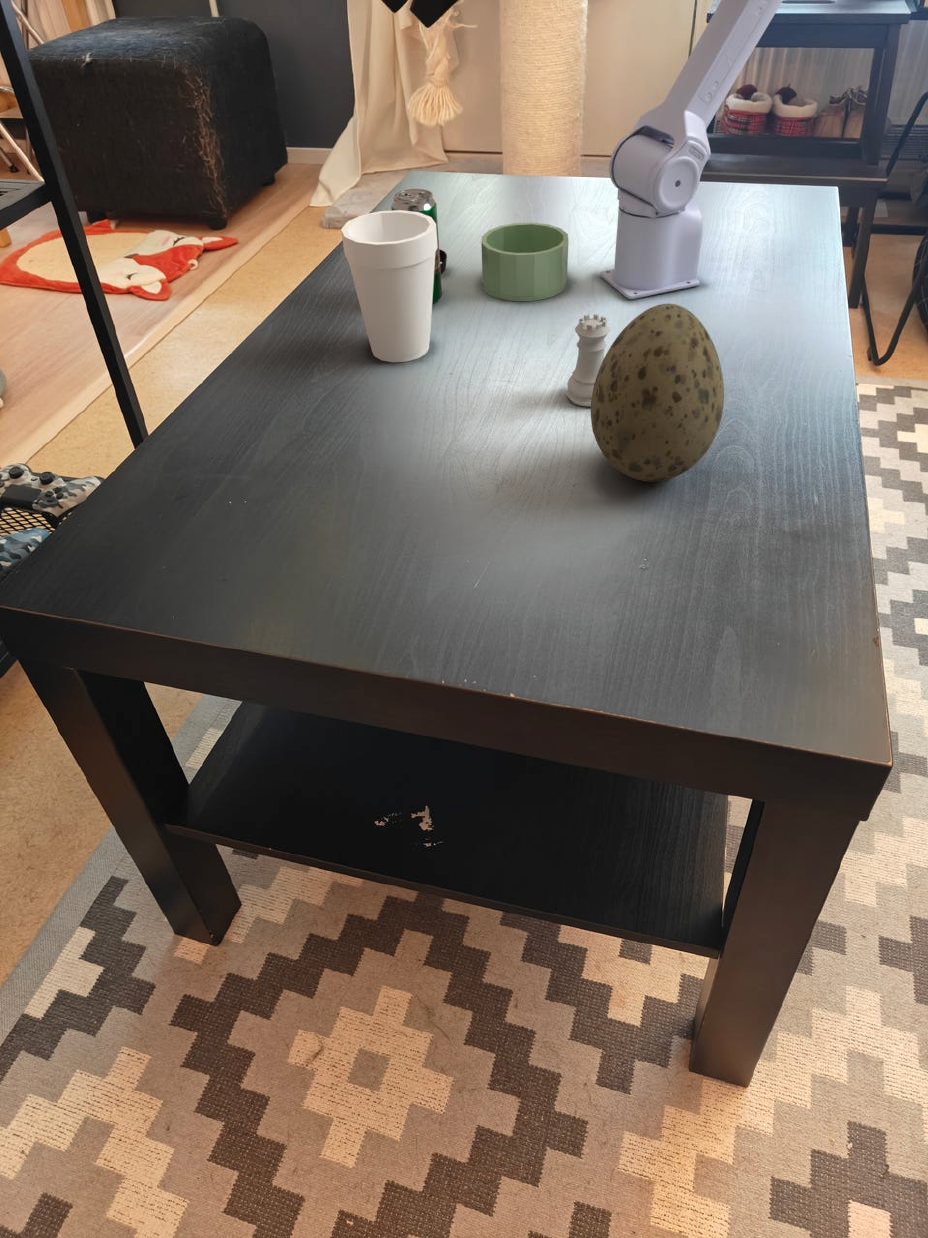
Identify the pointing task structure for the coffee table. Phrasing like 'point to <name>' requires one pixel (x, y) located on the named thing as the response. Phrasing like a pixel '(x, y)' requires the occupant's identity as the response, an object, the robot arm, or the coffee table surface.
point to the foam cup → (393, 279)
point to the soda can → (426, 205)
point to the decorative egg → (658, 395)
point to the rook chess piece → (587, 358)
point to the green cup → (524, 261)
